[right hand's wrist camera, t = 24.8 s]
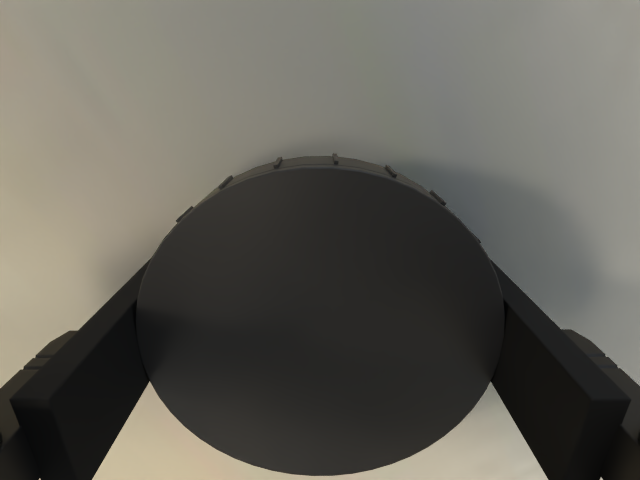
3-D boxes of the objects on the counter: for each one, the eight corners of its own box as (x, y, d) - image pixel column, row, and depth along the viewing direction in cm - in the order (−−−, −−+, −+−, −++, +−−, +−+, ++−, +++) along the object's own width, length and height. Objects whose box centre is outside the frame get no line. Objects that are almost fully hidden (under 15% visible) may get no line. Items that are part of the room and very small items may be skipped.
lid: (216, 454, 14) (204, 497, 13) (103, 195, 11) (66, 212, 9) (489, 411, 14) (511, 452, 12) (471, 114, 10) (499, 119, 8)
